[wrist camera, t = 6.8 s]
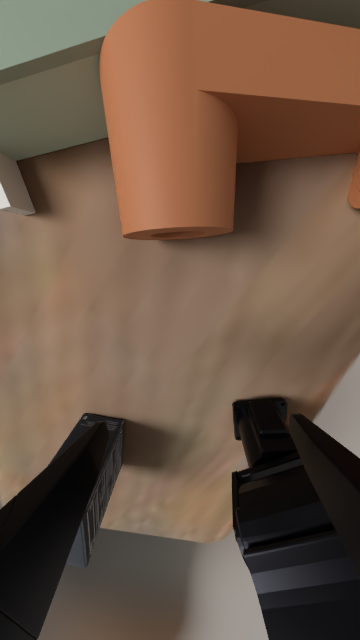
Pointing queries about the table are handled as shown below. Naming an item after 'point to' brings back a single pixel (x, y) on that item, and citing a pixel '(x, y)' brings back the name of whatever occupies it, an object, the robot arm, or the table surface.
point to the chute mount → (80, 73)
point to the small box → (101, 489)
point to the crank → (219, 107)
